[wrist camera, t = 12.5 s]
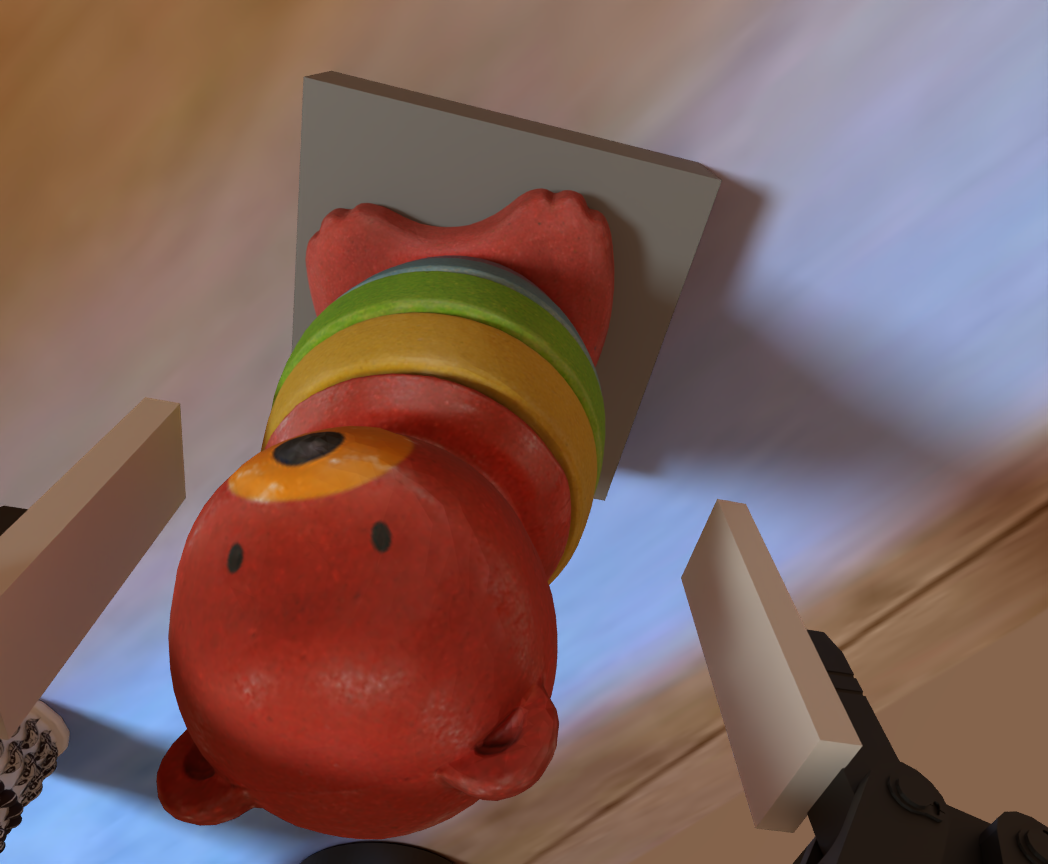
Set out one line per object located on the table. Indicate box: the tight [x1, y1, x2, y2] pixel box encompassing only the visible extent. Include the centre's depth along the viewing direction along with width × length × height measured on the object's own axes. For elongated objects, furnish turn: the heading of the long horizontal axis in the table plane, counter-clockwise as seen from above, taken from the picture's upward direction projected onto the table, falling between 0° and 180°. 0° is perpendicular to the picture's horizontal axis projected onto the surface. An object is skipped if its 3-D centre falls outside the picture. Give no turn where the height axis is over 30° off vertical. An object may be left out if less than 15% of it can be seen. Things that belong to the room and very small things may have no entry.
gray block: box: [292, 71, 722, 501], centre depth 27 cm, size 14×14×4 cm
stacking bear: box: [156, 188, 614, 839], centre depth 17 cm, size 11×10×18 cm
